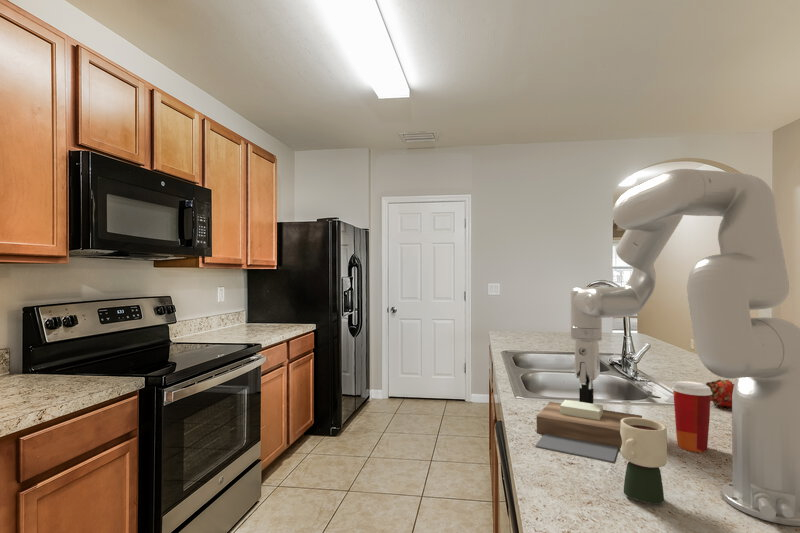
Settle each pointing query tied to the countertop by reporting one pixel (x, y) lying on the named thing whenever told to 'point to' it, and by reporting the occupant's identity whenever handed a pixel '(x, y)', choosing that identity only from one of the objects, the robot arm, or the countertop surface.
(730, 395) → the dragon fruit
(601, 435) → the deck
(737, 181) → the robot arm
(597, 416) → the cream rectangular block
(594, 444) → the mat
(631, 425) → the character mug
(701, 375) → the countertop surface
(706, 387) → the paper cup
